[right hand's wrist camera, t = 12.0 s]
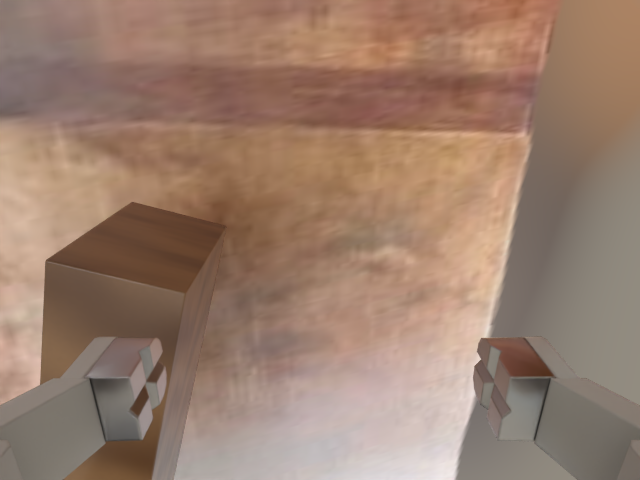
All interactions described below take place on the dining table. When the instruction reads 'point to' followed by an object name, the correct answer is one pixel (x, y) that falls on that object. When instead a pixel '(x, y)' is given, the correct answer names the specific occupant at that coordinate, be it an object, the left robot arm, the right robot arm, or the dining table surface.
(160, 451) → the box
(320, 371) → the dining table surface
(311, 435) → the dining table surface
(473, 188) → the dining table surface
